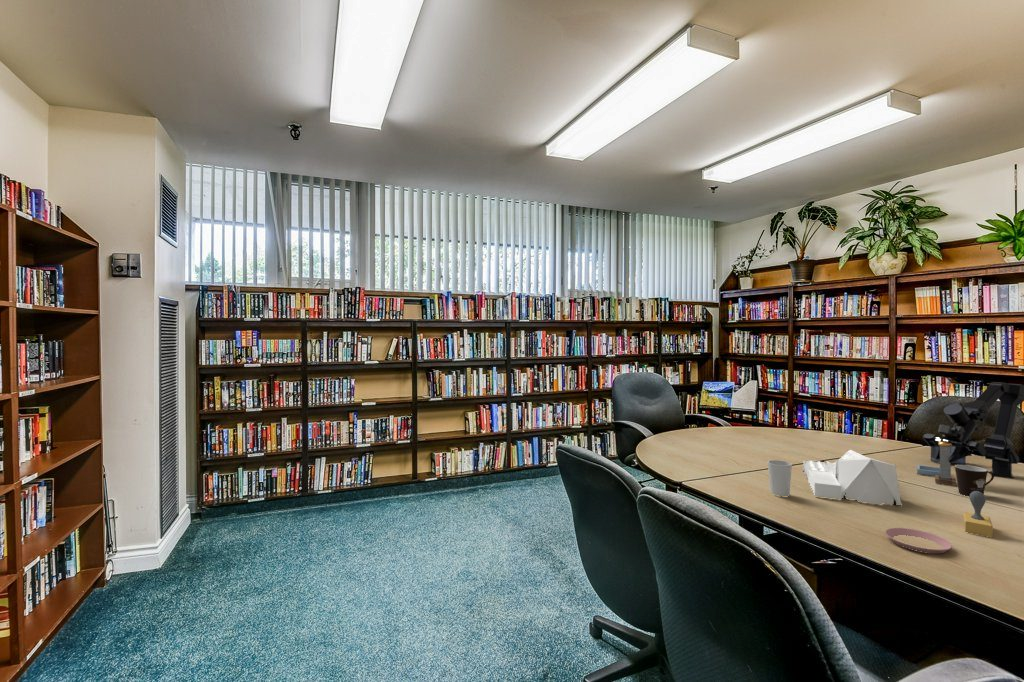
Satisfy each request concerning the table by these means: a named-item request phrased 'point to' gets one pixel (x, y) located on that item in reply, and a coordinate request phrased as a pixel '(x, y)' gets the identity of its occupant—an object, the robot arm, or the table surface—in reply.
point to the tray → (928, 470)
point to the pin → (945, 460)
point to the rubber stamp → (977, 517)
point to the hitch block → (945, 481)
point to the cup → (779, 477)
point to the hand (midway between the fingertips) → (942, 460)
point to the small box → (960, 461)
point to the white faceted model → (854, 479)
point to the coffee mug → (971, 479)
